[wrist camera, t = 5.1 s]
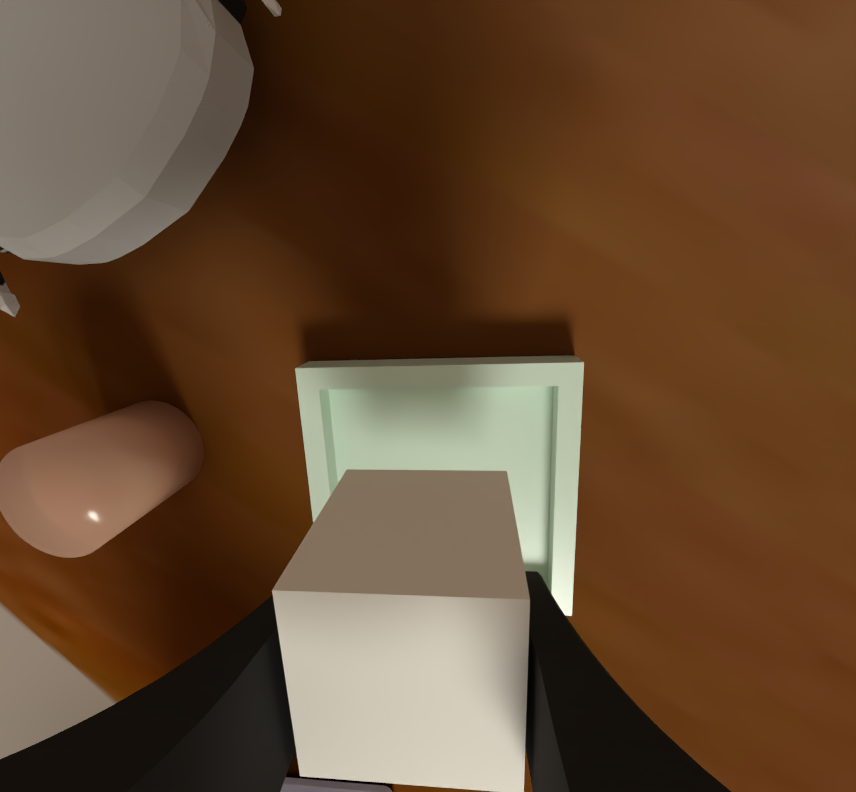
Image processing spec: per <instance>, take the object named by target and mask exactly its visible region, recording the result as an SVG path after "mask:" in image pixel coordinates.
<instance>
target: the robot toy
mask: <svg viewBox="0 0 856 792" xmlns="http://www.w3.org/2000/svg"><path fill="white" fill-rule="evenodd" d="M262 1H263V2H264V4H265V5H266V6H267V8H268V9H269V10H270V12H271V13H272V14H273V15H274V17H276V16H281V10H282V8H281V7H280V5H279V4H278V3H277V1H276V0H262ZM246 8H247V7H246V5H245V2H244V0H0V252H4V253H13V254H15V255H17V256H18V257H20V258H22V259H25V260H35V261H46V262H56V263H67V264H77V265H81V264H95V263H106V262H109V261H112V260H114V259H117V258H120V257H122V256H123V255H125V254H127V253H129V252H131V251H133V250H135V249H136V248H138V247H140V246H142V245H144V244H145V243H146V242H148V241H149V240H150V239H152V238H153V237H154V236H156V235H157V234H158V233H160V232H161V231H163V230H164V229H165V228H167V227H168V226H169V225H171V224H172V223H173V222H175V221H176V220H177V219H179V218H180V217H181V216H183V215H184V214H185V213H187V212H188V211H189V210H190V209H191V207H192V206H193V204H194V203H195V201H196V200H197V198H198V197H199V195H200V194H201V192H202V191H203V189H204V188H205V186H206V185H207V183H208V182H209V180H210V179H211V177H212V176H213V174H214V173H215V171H216V170H217V168H218V167H219V165H220V164H221V162H222V161H223V159H224V158H225V156H226V154H227V152H228V150H229V148H230V146H231V144H232V142H233V140H234V138H235V136H236V134H237V132H238V131H239V129H240V127H241V124H242V121H243V119H244V116H245V113H246V111H247V108H248V103H249V97H250V91H251V85H252V79H253V73H254V67H253V63H252V60H251V57H250V54H249V51H248V47H247V44H246V41H245V38H244V34H243V31H242V28H241V23H242V20H243V17H244V14H245V11H246ZM19 308H20V305H19V303H18V301H17V299H16V297H15V295H14V294H11V293H10V290H9V288H8V286H7V284H6V282H5V280H4V278H3V276H2V274H1V272H0V309H1V310H3V311H5V312H6V313H8V314H10V315H12V316H14V317H15V316H16V314H17V312H18V310H19Z"/></svg>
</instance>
